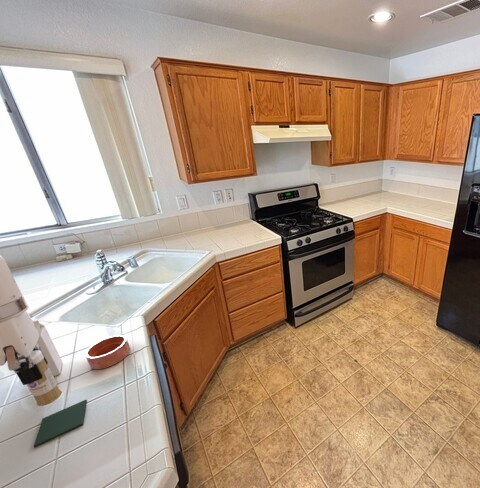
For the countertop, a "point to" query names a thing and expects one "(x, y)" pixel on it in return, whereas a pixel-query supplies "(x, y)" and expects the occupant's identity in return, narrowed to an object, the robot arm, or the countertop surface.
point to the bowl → (107, 352)
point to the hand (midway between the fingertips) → (36, 373)
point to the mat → (61, 423)
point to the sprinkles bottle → (43, 382)
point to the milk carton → (48, 349)
